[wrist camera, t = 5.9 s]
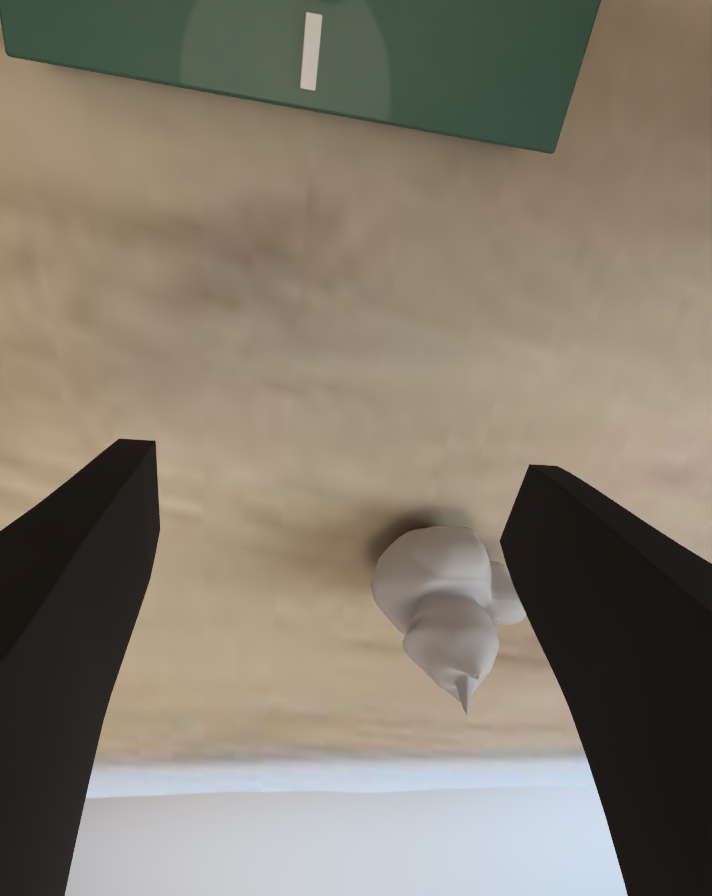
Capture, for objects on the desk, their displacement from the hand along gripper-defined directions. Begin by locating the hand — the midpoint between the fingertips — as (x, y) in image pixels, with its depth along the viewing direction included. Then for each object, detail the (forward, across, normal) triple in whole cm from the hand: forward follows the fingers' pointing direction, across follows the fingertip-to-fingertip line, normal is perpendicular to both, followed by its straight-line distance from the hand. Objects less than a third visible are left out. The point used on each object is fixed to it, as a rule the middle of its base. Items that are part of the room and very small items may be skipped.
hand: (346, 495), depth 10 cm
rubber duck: (+10, -7, +10) cm, 15 cm away
